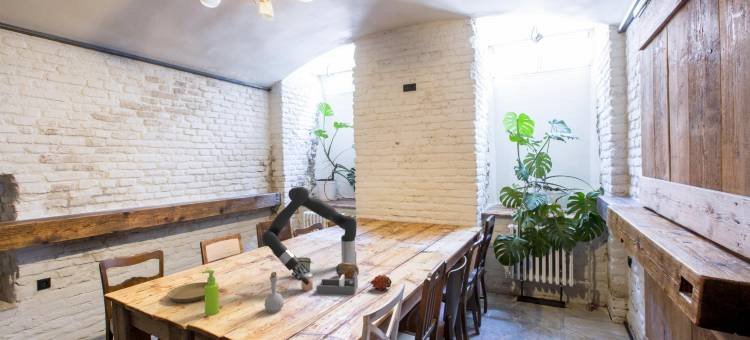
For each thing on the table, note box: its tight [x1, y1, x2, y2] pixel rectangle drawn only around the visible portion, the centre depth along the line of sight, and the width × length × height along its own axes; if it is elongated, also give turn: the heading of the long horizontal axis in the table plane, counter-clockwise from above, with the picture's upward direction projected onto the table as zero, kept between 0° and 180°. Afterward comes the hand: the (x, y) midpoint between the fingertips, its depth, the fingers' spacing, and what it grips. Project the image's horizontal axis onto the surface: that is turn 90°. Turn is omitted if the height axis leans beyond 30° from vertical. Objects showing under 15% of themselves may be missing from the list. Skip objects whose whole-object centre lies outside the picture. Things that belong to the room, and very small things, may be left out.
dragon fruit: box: [369, 274, 393, 291], centre depth 193 cm, size 8×8×12 cm
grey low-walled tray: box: [316, 272, 359, 296], centre depth 192 cm, size 20×11×9 cm, turn 84°
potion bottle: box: [263, 271, 285, 314], centre depth 168 cm, size 9×9×18 cm
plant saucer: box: [166, 281, 207, 304], centre depth 187 cm, size 24×24×3 cm
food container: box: [297, 256, 312, 273], centre depth 219 cm, size 12×6×10 cm, turn 84°
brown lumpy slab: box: [336, 262, 360, 280], centre depth 213 cm, size 15×3×8 cm, turn 62°
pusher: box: [339, 274, 345, 286], centre depth 192 cm, size 1×8×6 cm, turn 174°
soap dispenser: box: [201, 269, 220, 316], centre depth 165 cm, size 6×7×20 cm
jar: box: [301, 272, 314, 292], centre depth 194 cm, size 6×6×8 cm
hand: (310, 281), depth 194 cm, fingers closed on jar, 6 cm apart
